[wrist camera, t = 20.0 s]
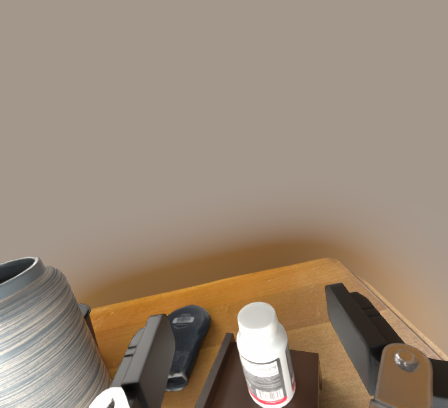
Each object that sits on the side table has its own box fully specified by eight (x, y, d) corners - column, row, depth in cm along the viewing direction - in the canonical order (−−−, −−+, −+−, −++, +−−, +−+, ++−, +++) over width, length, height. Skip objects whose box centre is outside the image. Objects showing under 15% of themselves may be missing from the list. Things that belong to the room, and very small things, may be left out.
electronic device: (200, 398, 34) (216, 309, 47) (182, 374, 32) (205, 287, 45) (142, 403, 36) (174, 316, 49) (123, 380, 34) (161, 296, 47)
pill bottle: (265, 356, 32) (252, 291, 29) (304, 379, 28) (293, 307, 25) (238, 391, 28) (220, 321, 25) (279, 423, 24) (262, 345, 22)
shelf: (321, 377, 31) (317, 343, 30) (322, 480, 23) (315, 440, 21) (234, 362, 36) (226, 332, 35) (206, 442, 27) (194, 407, 26)
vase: (-7, 485, 28) (-129, 321, 22) (71, 383, 39) (5, 254, 32) (77, 500, 25) (-35, 315, 19) (136, 385, 36) (77, 245, 30)
